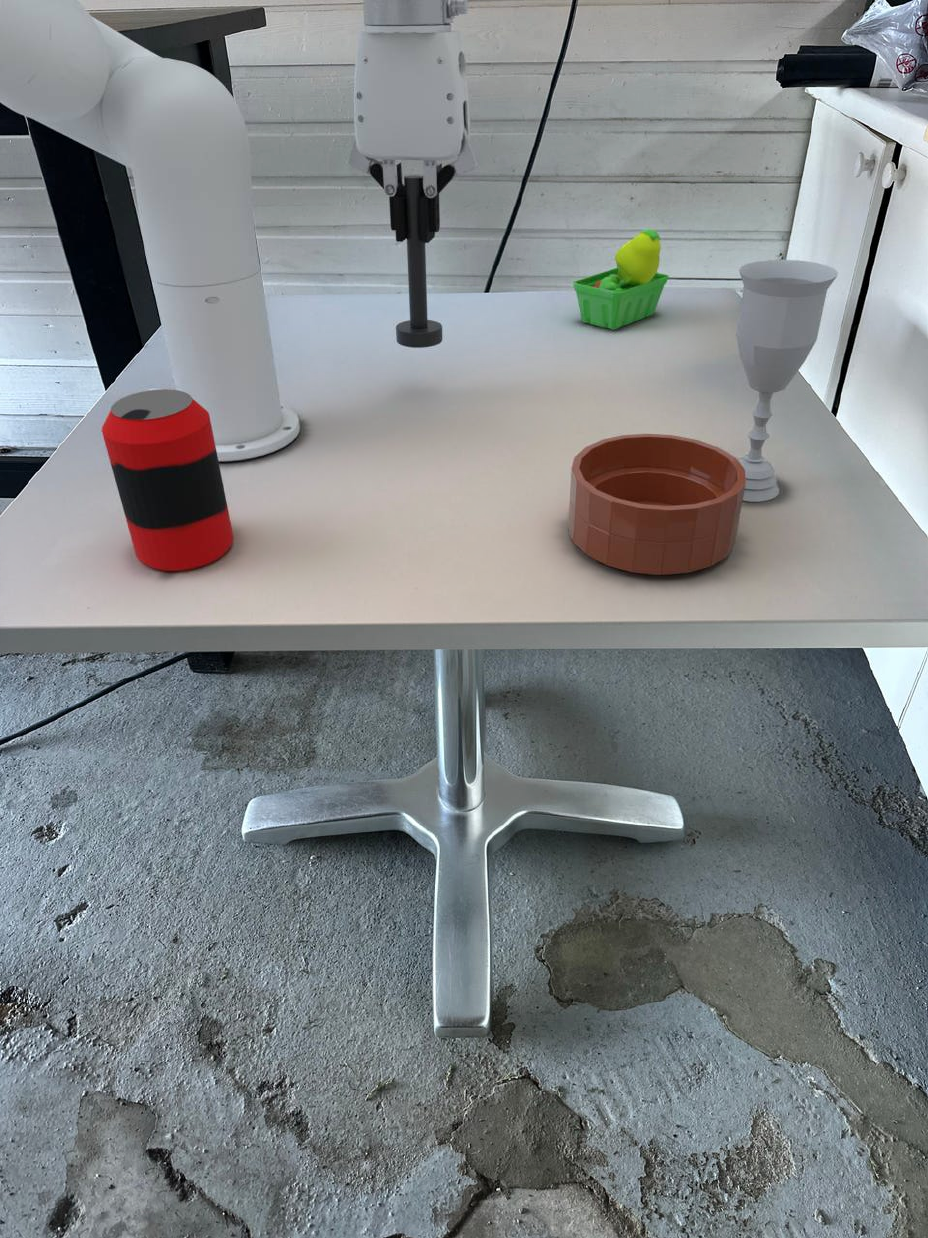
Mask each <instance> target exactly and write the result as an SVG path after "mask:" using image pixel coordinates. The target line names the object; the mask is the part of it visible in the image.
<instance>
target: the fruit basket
mask: <svg viewBox="0 0 928 1238" xmlns="http://www.w3.org/2000/svg"><path fill="white" fill-rule="evenodd" d="M660 240H661V237H660V235H659V233H658V232H657V231H656V230H654V229H650V228H646V229H643V230H641V231H640V232H639V233H638V234H637V235H636V236H635V237H633V238H632V239H630V240H628V241H627V242H625V243H624V244H623V246H621V247H620V248H618V249H617V251H616V253H615V257H614V260H615V263H616V267H614V268H611V269H608V270H605V271H601V272H598V273H595V274H593V275H590V276H588V277H584V278H581V279H577V280H574V281H573V282H572V285H573V288H574V291H575V293H576V298H577V302H578V307H579V308H578V309H579V312H580V317H581V320H582V323H584V324H590V325H592V326H597V327H601V328H604V329H605V328H606V329H609V330H612V331H614V330H617V329H619V328H621V327H624V326H627V325H629V324H632V323H634V322H638V321H640V320H643V319H644V318H648V317H651V316H653V315H654V314H655V311H656V309H657V306H658V303H659V301H660V297H661V295H662V293H663V290H664V287H665V285H666V284H667V282H668V280H669V277H670V275H669V274H666V273H660V272H658V270H659V267H660V261H661V260H660V252H661V248H662V246H661V241H660Z"/></svg>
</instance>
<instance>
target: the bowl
mask: <svg viewBox="0 0 928 1238" xmlns="http://www.w3.org/2000/svg"><path fill="white" fill-rule="evenodd" d="M737 459H738V458H737V457H735V456H734V455H732V454H730V453H729V452H727V451H725V450H724V449H722V448H721V447H718V446H716V445H713V444H710V443H708V442H705V441H701V440H699V439H696V438H695V439H694V438H690V437H684V436H679V435H675V434H673V435H672V434H661V433H636V434H622V435H621V434H620V435H618V436H617V435H616V436H612V437H607V438H604V439H601V440H598V441H596V442H594V443H592V444H589V445H586V446H585V447H583V448H582V449H581V450H580V452H579V453H577V454H576V455H575V456H574V457H573V461H572V465H571V470H570V471H571V472H570V487H569V488H570V490H569V506H568V507H569V508H568V509H569V510H568V526H567V527H568V528H567V530H568V533H569V535H570V538H571V541H572V543H573V544H574V545H575V546H576V547H577V548H579V549H580V550H581V551H582V552H583V553H584V554H585V555H587V556H588V557H590V558H592V559H594V560H595V561H598V562H599V563H601V564H604V565H606V566H608V567H612V568H615V569H618V570H622V571H625V572H630V573H634V574H641V575H649V576H650V575H654V576H669V575H678V574H687V573H693V572H695V571H700V570H703V569H707V568H710V567H713V566H714V565H716V564H717V563H719V562H721V561H722V560H724V559H726V558H727V557H728V556H729V554H730V552H732V549H733V548H734V546H735V544H736V539H737V534H738V529H739V525H740V524H739V523H740V518H741V513H742V506H743V496H744V490H745V485H746V475H745V469H744V467H743V466H742V465H741V464H740V462H739V461H738V460H737Z"/></svg>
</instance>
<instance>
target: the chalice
mask: <svg viewBox="0 0 928 1238" xmlns="http://www.w3.org/2000/svg"><path fill="white" fill-rule="evenodd" d="M738 272H739V275H740V279H741V281H742V284H743V287H742V288H743V289H742V294H741V301H740V308H739V314H738V321H737V326H736V334H735V337H736V342H737V346H738V353H739V358H740V361H741V365H742V368H743V370H744V373H745V376H746V379H747V382H748V385H749V387H750V388H751V389H752V390H754V391H756V392H758V402H757V405H756V407H755V409H754V410H753V411H752V412H751V415H752V416H753V420H754V424H753V425H754V426H753V427H752V430H751V431H750V432H748V433H747V435H746V436H747V437H748V438H749V441H750V443H749V444H750V448H749V451H748V453H747V454H745V456H742V457H738V458H736V459H737V460H738V461H739V462H740V464H741V465H742V466H743V467H744V469H745V475H746V485H745V490H744V496H743V501H744V502H750V503H751V502H752V503H753V502H755V503H756V502H758V503H760V502H766V501H770V500H772V499H775V498H777V496H778V495H779V494H780V488H779V486H778V484H777V481H778V480H777V477H776V474H775V472H776V470H775V468H774V467H773V465H772V464H771V462H770V461H768V460H766V459H765V457H764V456H763V452H762V450H763V449H762V448H763V446H764V443H765V442H766V441H767V440H768V439H769V438H770V434H769V433H768V431H767V425H768V422H769V420H770V419H771V417H773V413H772V411H771V400H772V398H773V396H774V394H775V393H778V392H782V391H784V390H785V389H786V388H787V387H788V385H790V383H791V381H792V380H793V379H794V377H795V376H796V375H797V373H798V372H799V370H800V369H801V368H802V366H803V365H804V364H805V362H806V360H807V359H808V356H809V355H810V353H811V351H812V350H813V348H814V346H815V344H816V342H817V339H818V335H819V331H820V326H821V322H822V316H823V311H824V307H825V303H826V297H827V292H828V289H829V288H830V287H831V285H832V284H833V283H834V281H835V280H836V279H837V277H838V275H839V272H838V270H836V269H835V268H834V267H832V266H829V265H827V264H823V263H818V262H813V261H806V260H798V259H797V260H796V259H769V260H768V259H767V260H759V261H754V262H749V263H747V264H744V265H742V266H740V268H739V269H738Z"/></svg>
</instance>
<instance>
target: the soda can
mask: <svg viewBox="0 0 928 1238" xmlns="http://www.w3.org/2000/svg"><path fill="white" fill-rule="evenodd" d="M161 389H162V390H150V391H148V390H145V391H140V392H136V393H132V394H129V395H127V396H124V397H121V398H120V399H118V400H117V401H115V402H114V403H112V405H111V407H110V411H109V413H108V415H107V417H106V419H105V421H104V423H103V424H102V427H101V435H102V437H103V441H104V445H105V448H106V451H107V455H108V459H109V462H110V466H111V470H112V473H113V477H114V480H115V485H116V488H117V492H118V495H119V498H120V503H121V506H122V509H123V513H124V518H125V521H126V525H127V528H128V531H129V535H130V538H131V543H132V545H133V550H134V553H135V555H136V558H137V559H138V560H139V561H140V562H141V563H143V564H144V565H146V566H148V567H149V568H151V569H155V570H158V571H163V572H183V571H189V570H195V569H199V568H201V567H204V566H207V565H209V564H213V563H214V562H215V561H217V560H219V559H220V558H222V557H223V556H224V555H225V554H226V553H227V552H228V550H229V549H230V548H231V546H232V544H233V541H234V533H233V528H232V527H233V526H232V522H231V517H230V512H229V507H228V502H227V497H226V492H225V488H224V481H223V477H222V472H221V467H220V461H218V456H217V451H216V446H215V441H214V436H213V431H212V426H211V421H210V416H209V413H208V412H207V410H205V409H204V408H203V407H202V406H201V405H200V404H198V403H197V402H196V401H195V400H194V399H193V398H192V397H191V395H189V394H188V393H185V392H183V391H178V390H176V389H168V388H161Z"/></svg>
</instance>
